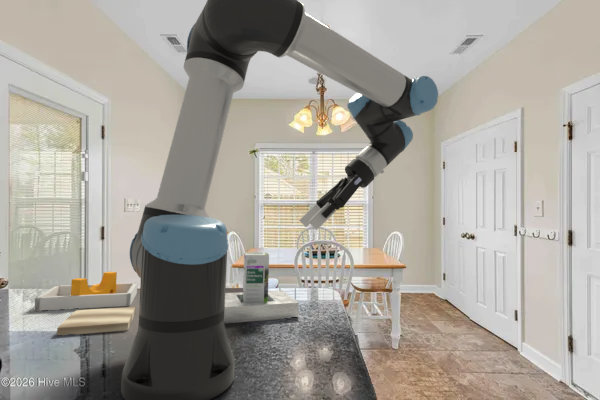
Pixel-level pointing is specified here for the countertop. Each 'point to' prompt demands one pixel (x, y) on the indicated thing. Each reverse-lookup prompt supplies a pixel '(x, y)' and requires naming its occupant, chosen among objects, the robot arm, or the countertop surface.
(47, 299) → the parts tray frame
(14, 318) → the countertop surface
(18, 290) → the countertop surface
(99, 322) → the maple pad
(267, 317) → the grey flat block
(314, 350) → the countertop surface
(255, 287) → the syrup box
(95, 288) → the pipe clamp
